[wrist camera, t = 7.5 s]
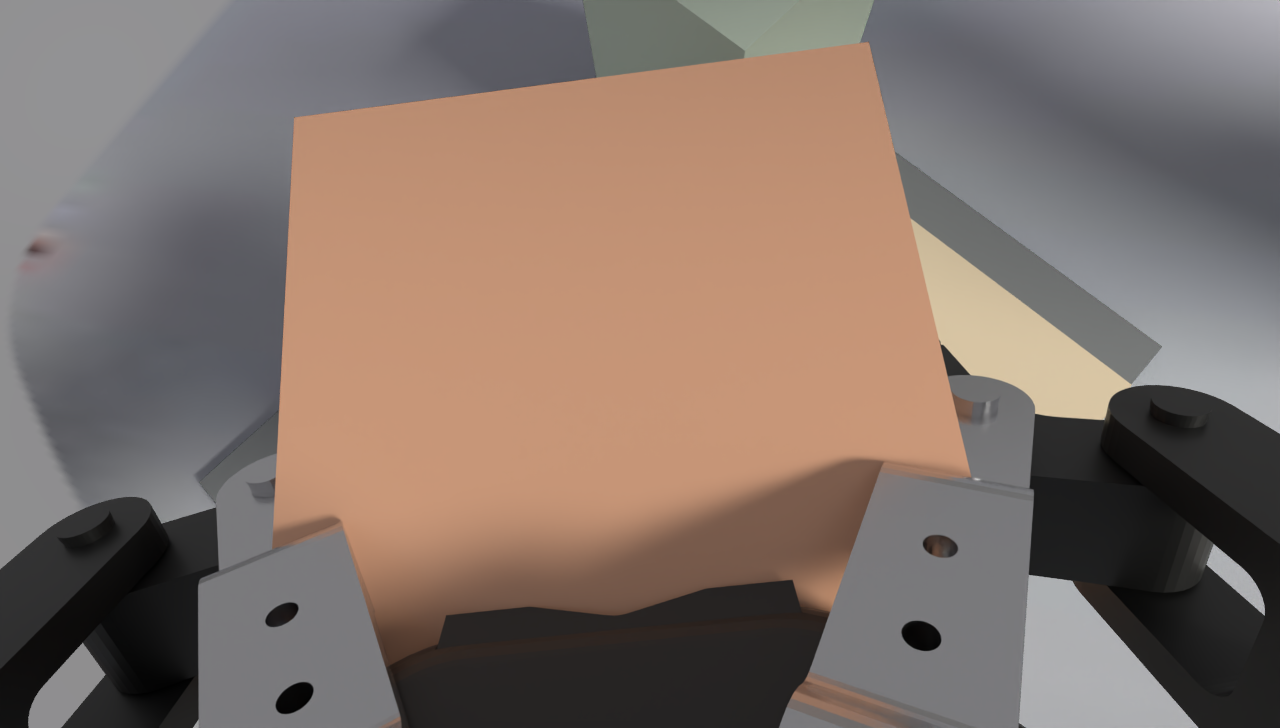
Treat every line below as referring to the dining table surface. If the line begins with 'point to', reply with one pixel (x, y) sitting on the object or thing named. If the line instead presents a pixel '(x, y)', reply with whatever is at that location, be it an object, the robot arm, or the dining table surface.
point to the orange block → (604, 339)
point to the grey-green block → (714, 30)
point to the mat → (968, 319)
